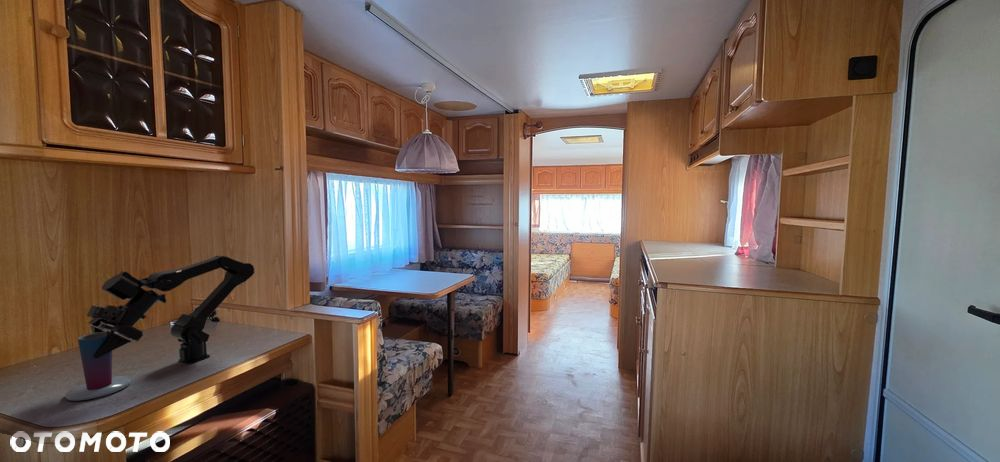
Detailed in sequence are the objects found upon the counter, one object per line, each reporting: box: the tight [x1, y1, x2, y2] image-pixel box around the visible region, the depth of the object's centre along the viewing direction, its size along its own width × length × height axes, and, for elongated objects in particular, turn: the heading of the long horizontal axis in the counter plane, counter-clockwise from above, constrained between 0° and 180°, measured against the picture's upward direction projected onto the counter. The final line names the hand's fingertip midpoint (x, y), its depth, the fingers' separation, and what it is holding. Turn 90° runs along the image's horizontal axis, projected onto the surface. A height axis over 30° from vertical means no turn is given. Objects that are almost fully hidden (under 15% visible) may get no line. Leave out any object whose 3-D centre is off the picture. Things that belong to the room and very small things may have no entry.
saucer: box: [65, 375, 132, 402], centre depth 111 cm, size 13×13×1 cm
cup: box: [77, 332, 113, 390], centre depth 110 cm, size 7×7×15 cm
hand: (89, 355), depth 109 cm, fingers open, 6 cm apart
